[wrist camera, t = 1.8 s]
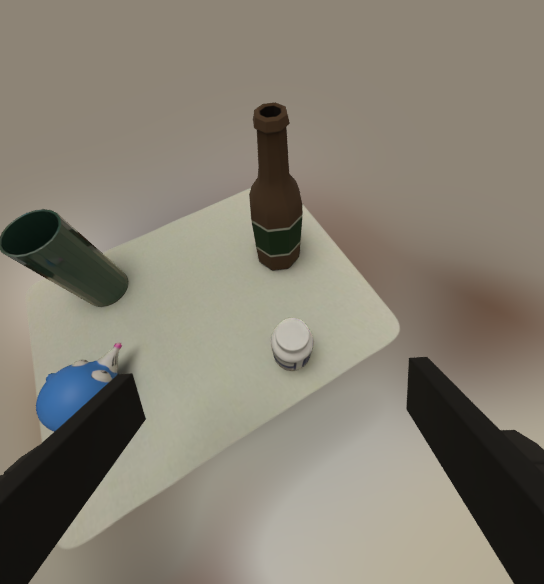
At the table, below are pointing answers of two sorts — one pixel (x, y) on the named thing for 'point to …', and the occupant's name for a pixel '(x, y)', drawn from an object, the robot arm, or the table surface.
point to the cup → (63, 257)
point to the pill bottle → (292, 344)
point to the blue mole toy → (74, 388)
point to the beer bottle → (275, 192)
